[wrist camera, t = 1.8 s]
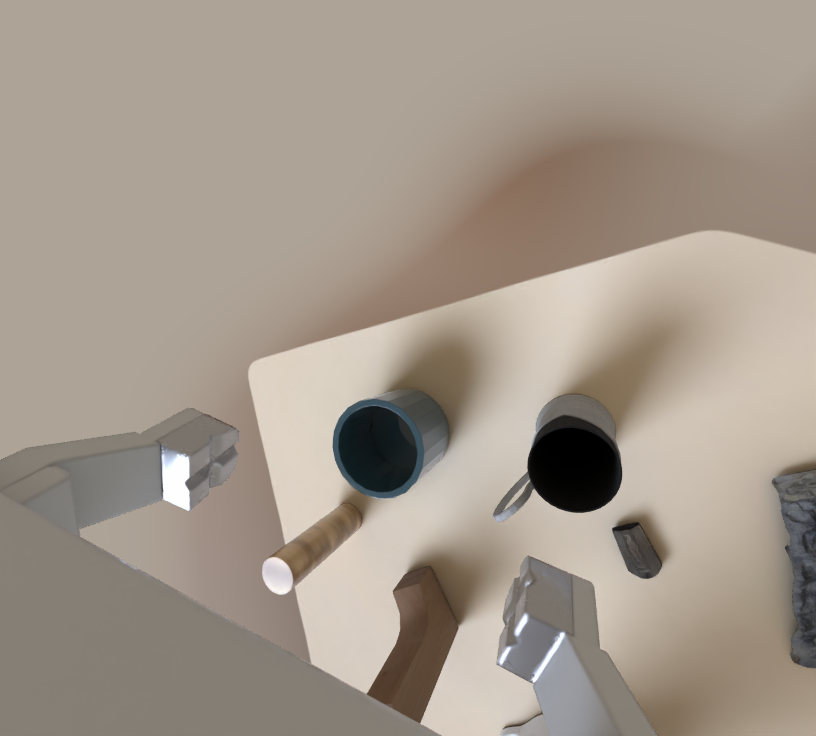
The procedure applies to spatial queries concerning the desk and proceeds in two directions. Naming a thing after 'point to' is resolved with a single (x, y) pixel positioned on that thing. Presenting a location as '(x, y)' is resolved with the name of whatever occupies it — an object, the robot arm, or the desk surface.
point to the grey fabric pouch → (801, 558)
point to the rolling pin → (310, 549)
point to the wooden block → (416, 645)
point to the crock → (390, 441)
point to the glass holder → (570, 458)
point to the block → (637, 551)
